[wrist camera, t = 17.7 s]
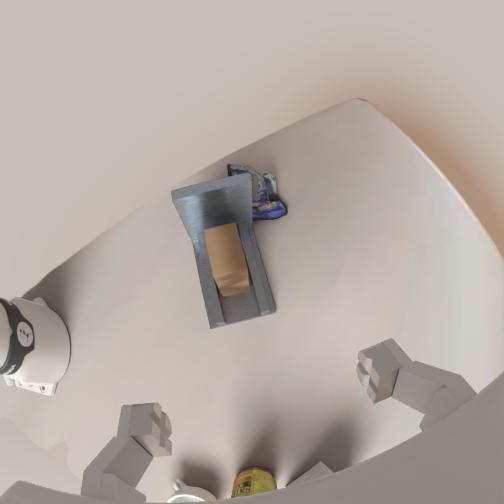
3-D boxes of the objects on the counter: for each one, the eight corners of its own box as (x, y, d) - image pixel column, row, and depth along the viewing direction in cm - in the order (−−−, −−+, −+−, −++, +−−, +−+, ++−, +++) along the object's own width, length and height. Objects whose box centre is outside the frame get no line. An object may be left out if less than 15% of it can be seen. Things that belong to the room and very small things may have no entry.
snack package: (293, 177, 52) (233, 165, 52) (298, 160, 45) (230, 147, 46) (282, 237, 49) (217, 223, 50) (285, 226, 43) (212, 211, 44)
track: (211, 328, 41) (191, 313, 28) (192, 237, 47) (171, 190, 34) (275, 312, 42) (285, 290, 29) (250, 223, 48) (248, 172, 35)
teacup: (230, 509, 30) (227, 525, 25) (189, 519, 28) (182, 534, 23) (200, 465, 33) (193, 477, 28) (159, 476, 32) (148, 488, 27)
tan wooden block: (223, 297, 42) (213, 276, 32) (214, 261, 44) (203, 230, 34) (249, 291, 42) (247, 267, 32) (239, 254, 45) (235, 222, 34)
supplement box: (312, 509, 29) (329, 548, 18) (283, 486, 32) (293, 525, 20) (348, 483, 31) (376, 515, 19) (321, 459, 33) (345, 490, 21)
